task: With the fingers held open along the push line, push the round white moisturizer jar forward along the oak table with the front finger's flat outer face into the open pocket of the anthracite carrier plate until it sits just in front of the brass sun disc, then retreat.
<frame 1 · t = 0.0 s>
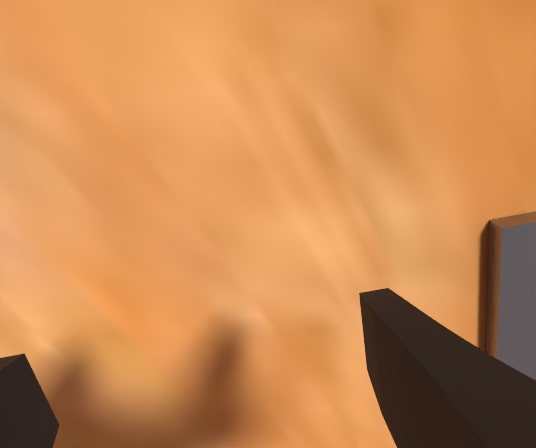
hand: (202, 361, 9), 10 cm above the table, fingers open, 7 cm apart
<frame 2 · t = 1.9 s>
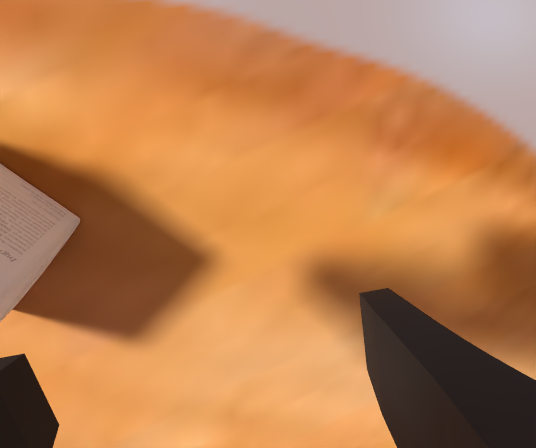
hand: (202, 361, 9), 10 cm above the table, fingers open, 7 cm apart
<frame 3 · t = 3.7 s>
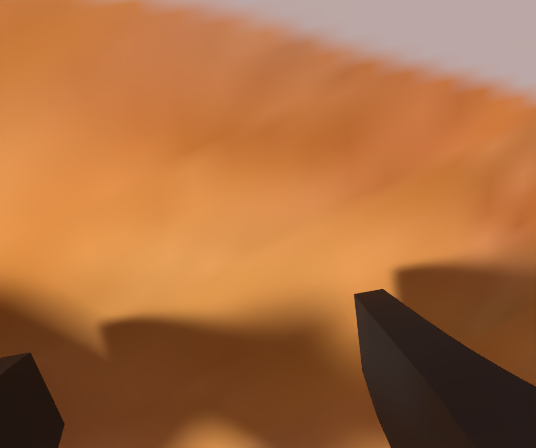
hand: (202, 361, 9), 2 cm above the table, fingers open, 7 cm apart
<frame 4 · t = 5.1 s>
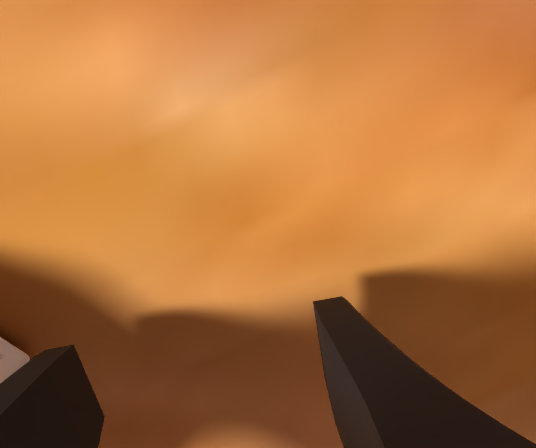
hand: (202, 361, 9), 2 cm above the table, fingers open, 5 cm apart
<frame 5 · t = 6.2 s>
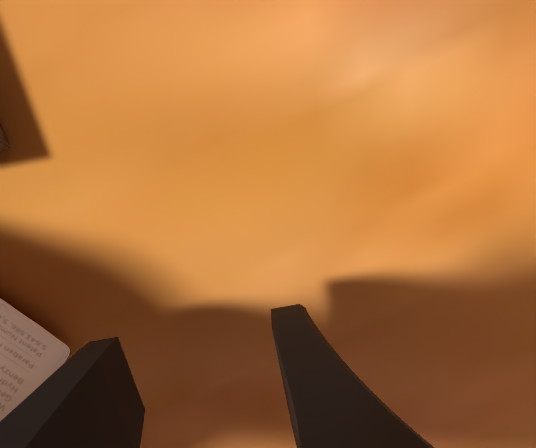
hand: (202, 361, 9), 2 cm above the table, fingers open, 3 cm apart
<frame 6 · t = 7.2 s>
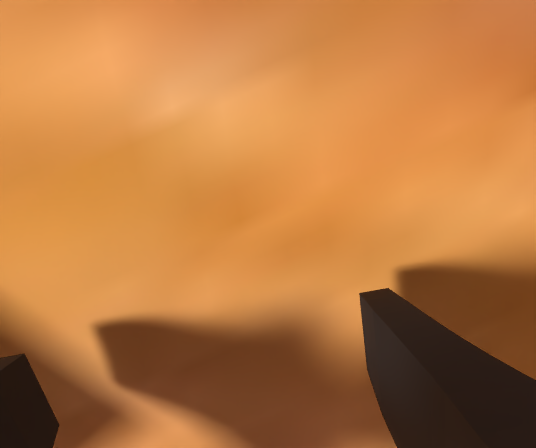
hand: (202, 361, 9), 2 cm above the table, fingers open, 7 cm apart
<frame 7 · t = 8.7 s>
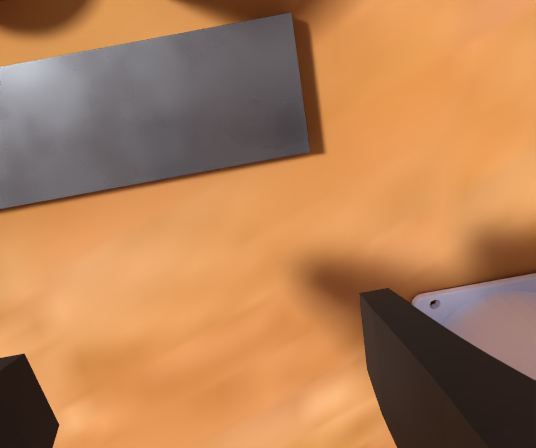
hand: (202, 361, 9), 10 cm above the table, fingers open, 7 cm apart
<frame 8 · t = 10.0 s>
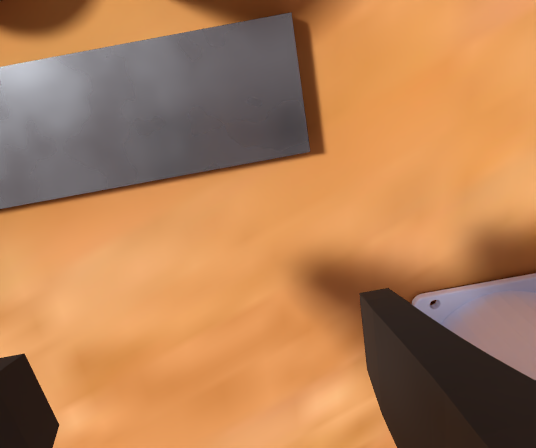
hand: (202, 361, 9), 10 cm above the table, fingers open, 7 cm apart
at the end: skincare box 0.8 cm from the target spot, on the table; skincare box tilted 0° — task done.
